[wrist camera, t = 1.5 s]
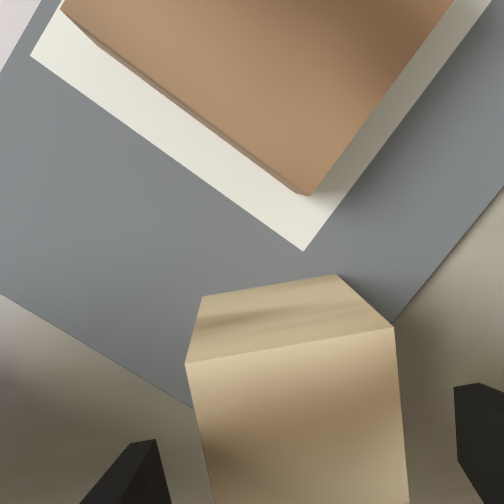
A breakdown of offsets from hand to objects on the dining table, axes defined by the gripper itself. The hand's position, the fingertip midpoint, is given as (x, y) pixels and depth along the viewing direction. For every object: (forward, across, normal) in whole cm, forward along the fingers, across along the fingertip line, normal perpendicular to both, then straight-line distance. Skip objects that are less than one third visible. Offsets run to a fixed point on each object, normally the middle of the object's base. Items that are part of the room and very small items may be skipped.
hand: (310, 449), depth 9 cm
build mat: (+6, 0, -7) cm, 9 cm away
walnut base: (+5, -1, -11) cm, 13 cm away
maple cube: (+5, 0, 0) cm, 5 cm away
